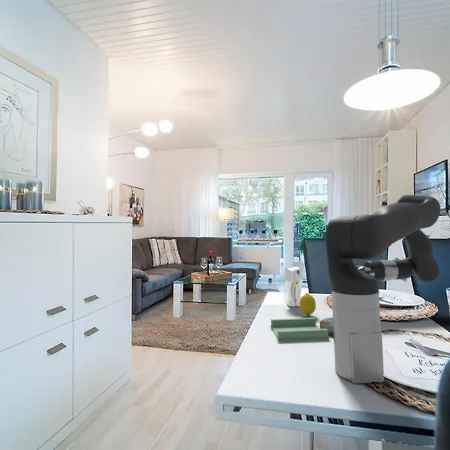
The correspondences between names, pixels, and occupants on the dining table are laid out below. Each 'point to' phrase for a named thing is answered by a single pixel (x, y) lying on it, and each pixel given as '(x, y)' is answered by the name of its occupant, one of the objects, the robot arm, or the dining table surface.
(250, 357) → the dining table surface
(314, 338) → the side chute
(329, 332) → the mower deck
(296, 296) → the beer glass
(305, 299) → the lemon
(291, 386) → the dining table surface
